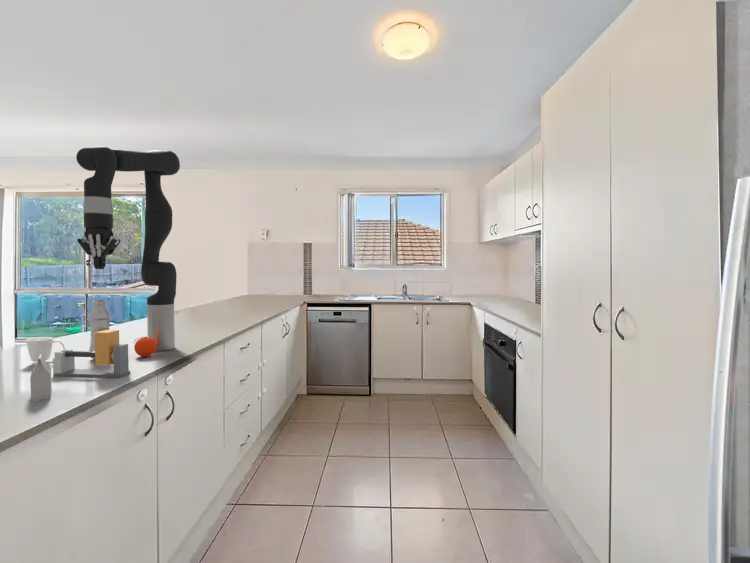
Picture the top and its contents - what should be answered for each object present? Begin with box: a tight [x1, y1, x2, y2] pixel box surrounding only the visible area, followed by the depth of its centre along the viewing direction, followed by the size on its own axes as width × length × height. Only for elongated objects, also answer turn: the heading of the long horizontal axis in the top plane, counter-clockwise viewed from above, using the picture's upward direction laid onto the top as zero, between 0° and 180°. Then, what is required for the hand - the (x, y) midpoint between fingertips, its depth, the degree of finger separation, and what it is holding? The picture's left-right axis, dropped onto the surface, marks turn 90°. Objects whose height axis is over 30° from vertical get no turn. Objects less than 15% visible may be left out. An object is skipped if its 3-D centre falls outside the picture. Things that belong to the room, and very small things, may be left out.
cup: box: [25, 336, 66, 366], centre depth 136 cm, size 7×10×8 cm
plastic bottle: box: [87, 299, 112, 360], centre depth 141 cm, size 6×7×20 cm
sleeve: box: [94, 329, 120, 366], centre depth 122 cm, size 4×5×10 cm
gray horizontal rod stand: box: [52, 343, 131, 379], centre depth 122 cm, size 20×5×9 cm, turn 86°
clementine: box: [133, 336, 157, 358], centre depth 146 cm, size 8×7×7 cm
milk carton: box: [29, 354, 53, 402], centre depth 103 cm, size 4×7×10 cm, turn 36°
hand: (99, 269), depth 129 cm, fingers closed
